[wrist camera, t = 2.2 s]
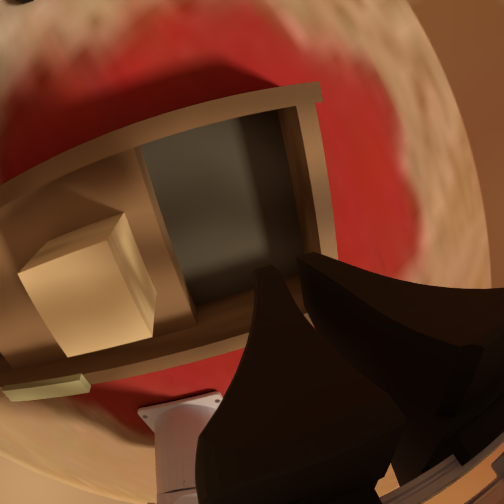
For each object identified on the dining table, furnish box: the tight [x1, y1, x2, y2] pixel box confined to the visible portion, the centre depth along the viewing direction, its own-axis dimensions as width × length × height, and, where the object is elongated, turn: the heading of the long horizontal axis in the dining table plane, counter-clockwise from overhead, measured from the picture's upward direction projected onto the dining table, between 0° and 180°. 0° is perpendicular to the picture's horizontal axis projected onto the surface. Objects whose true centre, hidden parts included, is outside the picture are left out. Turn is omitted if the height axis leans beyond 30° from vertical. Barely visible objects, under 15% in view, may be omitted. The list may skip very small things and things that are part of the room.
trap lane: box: [0, 82, 338, 402], centre depth 15 cm, size 13×34×5 cm, turn 103°
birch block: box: [18, 212, 157, 357], centre depth 14 cm, size 5×5×4 cm
